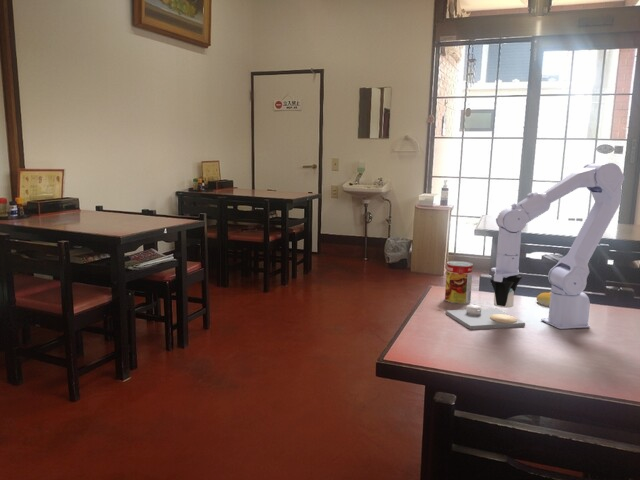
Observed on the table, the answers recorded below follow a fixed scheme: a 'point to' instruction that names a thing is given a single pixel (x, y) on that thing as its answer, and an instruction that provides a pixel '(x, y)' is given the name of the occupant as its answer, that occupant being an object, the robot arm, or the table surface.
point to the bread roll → (544, 299)
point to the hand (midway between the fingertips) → (504, 303)
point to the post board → (484, 318)
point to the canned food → (458, 282)
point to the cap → (509, 300)
